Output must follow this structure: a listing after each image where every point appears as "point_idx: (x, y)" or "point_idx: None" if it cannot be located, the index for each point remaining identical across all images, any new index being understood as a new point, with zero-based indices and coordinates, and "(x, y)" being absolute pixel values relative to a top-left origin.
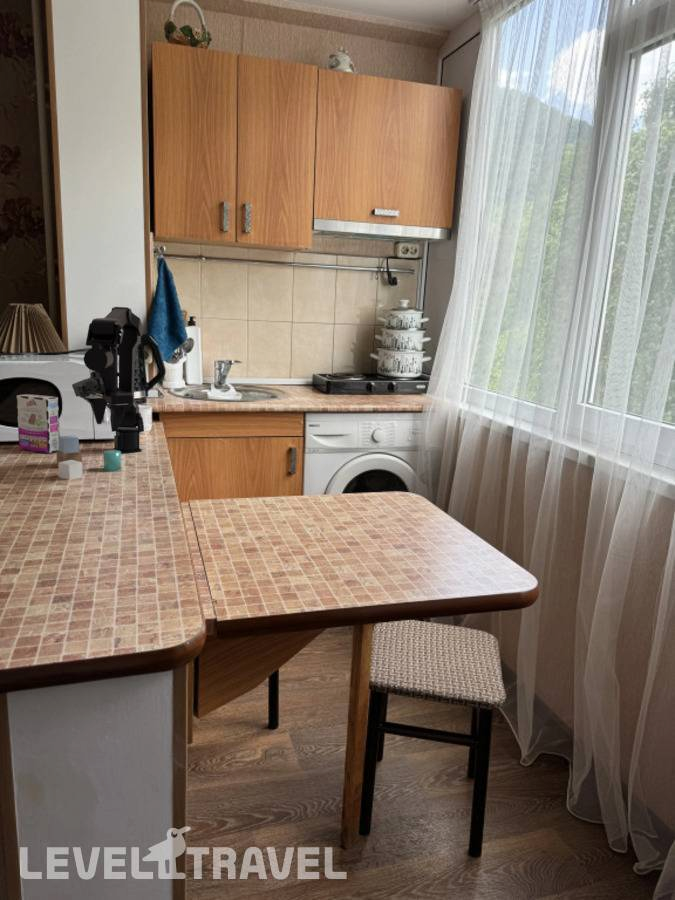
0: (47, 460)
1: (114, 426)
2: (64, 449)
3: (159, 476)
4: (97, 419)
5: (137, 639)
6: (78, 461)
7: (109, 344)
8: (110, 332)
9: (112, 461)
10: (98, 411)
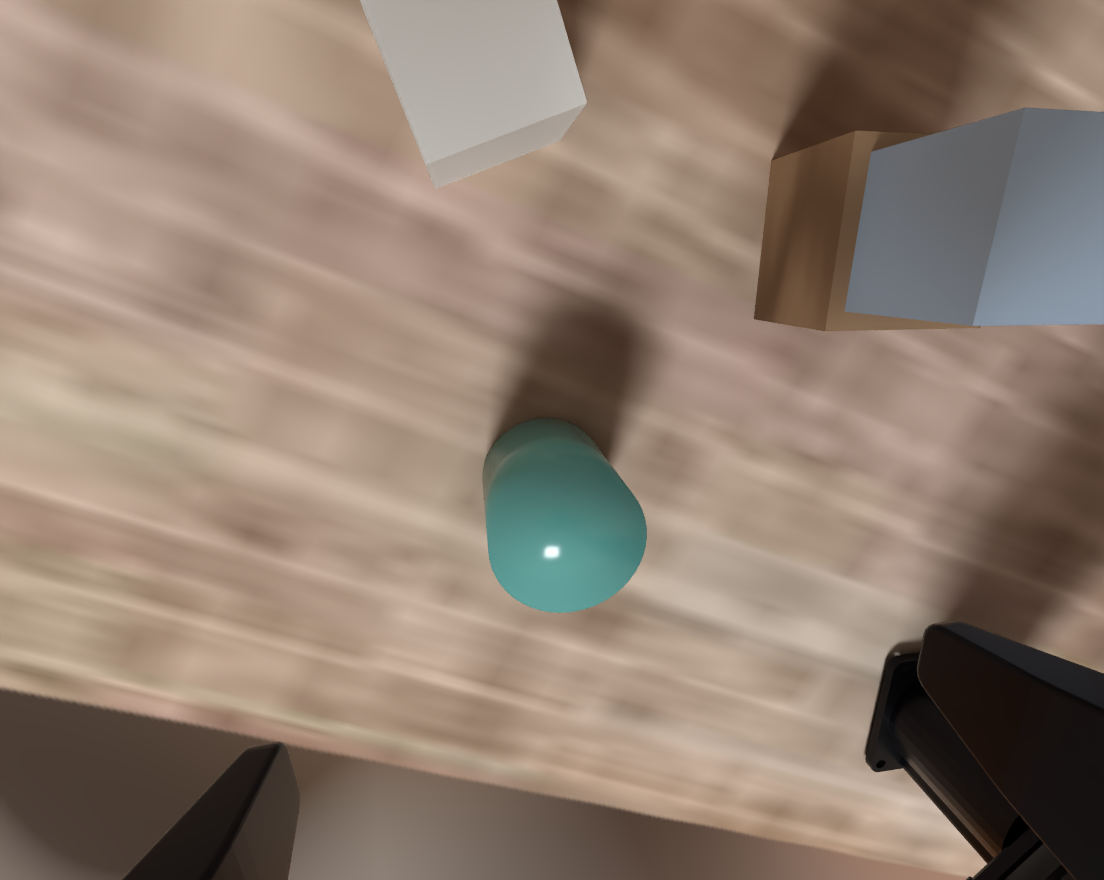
0: None
1: (199, 819)
2: (903, 149)
3: (211, 686)
4: (1012, 685)
5: None
6: (472, 141)
7: None
8: None
9: (488, 488)
10: None
